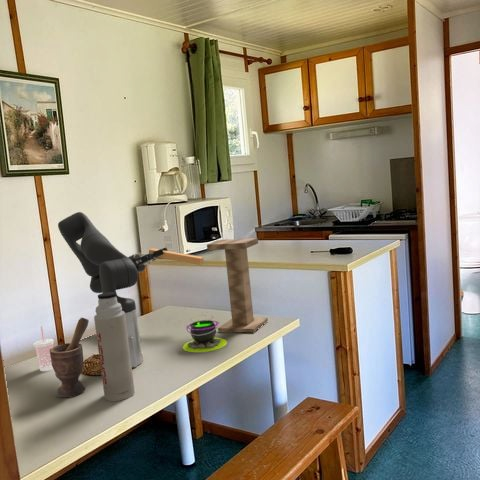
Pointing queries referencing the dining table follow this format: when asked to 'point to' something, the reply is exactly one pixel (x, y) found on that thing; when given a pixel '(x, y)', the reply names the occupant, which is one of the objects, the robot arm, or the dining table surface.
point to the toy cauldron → (203, 337)
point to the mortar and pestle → (70, 362)
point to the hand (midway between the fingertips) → (164, 250)
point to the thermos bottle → (113, 348)
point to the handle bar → (180, 257)
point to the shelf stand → (238, 285)
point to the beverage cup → (44, 352)
